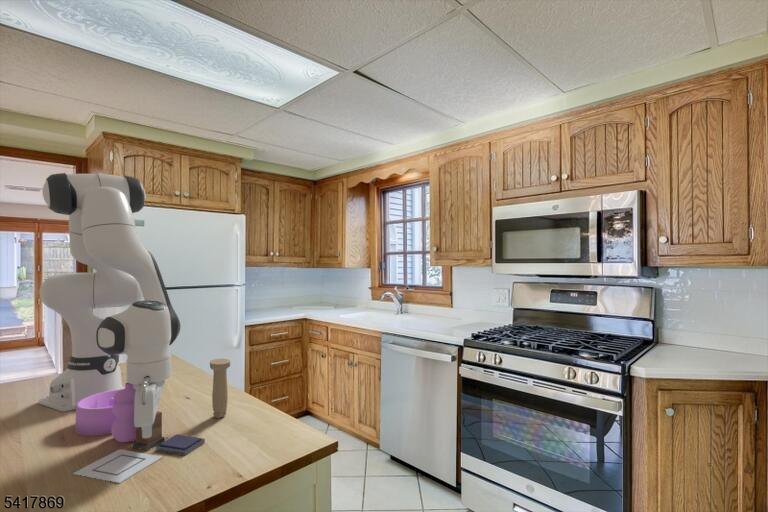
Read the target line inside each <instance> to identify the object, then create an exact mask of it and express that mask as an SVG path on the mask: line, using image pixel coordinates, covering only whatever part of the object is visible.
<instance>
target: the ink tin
mask: <svg viewBox="0 0 768 512" xmlns="http://www.w3.org/2000/svg"><path fill="white" fill-rule="evenodd" d="M205 444H206V443H205V438H202V437H197V436H196V437H195V436H189V435H183V434H175V435H173V436H171V437H170V438H168V439H165V441H164V442H162V443H160V444H159V445H157V446H155V451H156V452H161V453H165V454H166V453H168V454H173V455H179V456H184V457H185V456H187V455H188V454H189V453H191V452H193V451H194V450H196V449H198V448H199V447H201V446H202V445H205Z"/></svg>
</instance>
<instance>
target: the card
mask: <svg viewBox="0 0 768 512" xmlns="http://www.w3.org/2000/svg"><path fill="white" fill-rule="evenodd" d="M162 458H163V456H162V455H155V454H149V453H142V452H137V451H131V450H125V449H118V450H115V451H114V452H112V453H110V454H108V455H105V456H103V457H102V458H100V459H98V460H96V461H94V462H91V463H90V464H87V465H86V466H84V467H82V468H81V469H79V470H76V471H74V472H73V473H72V475H77V476H80V475H81V476H82V477H85V476H86V478H90V479H95V478H96V480H100V479H101V480H100V481H105V480H106V481H105V482H110V481H111V483H115V482H116V483H115V484H121V483H123V482H124V480H125V481H127V480H128V479H129V478H131V477H133V476H135V475H136V474H138V473H140V472H141V471H143V470H144V469H146V468H147V467H149V466H151V465H153V464H154V463H156V462H157V461H159V460H161V459H162ZM81 476H80V477H81Z"/></svg>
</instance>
